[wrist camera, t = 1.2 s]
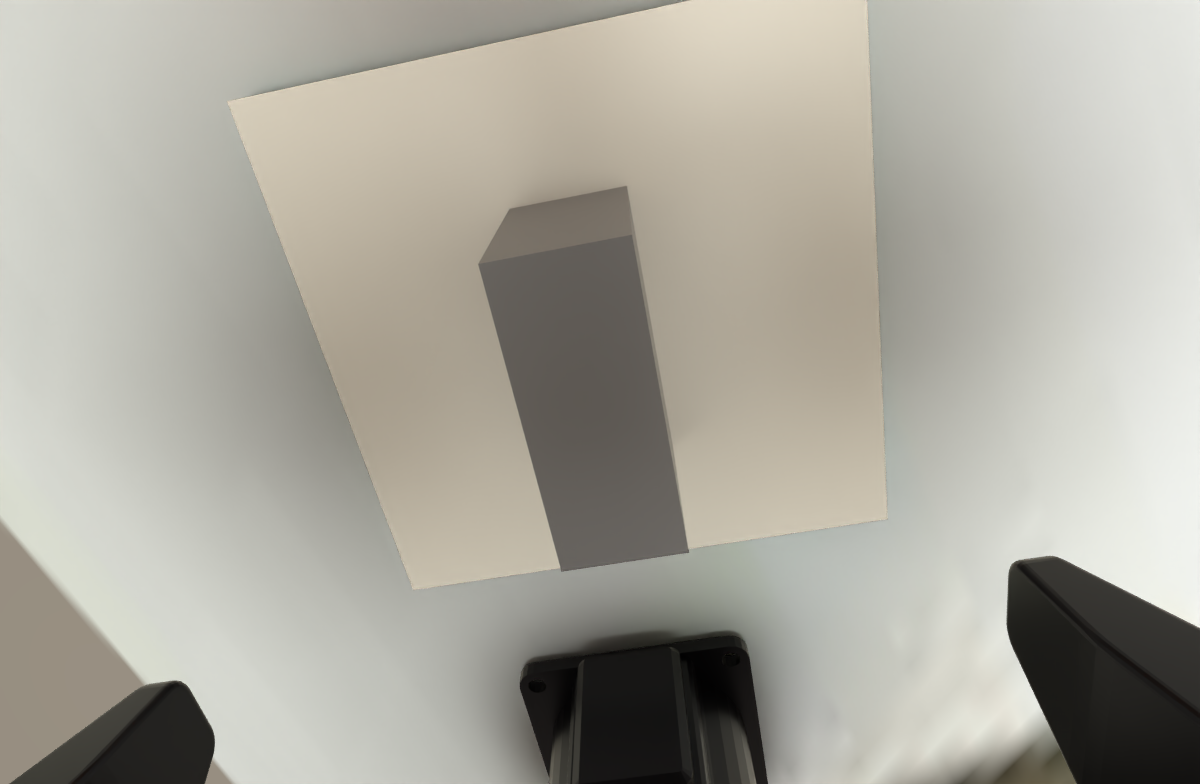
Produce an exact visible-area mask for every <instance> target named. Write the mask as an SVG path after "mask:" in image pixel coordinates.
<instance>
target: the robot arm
mask: <svg viewBox="0 0 1200 784" xmlns="http://www.w3.org/2000/svg"><path fill="white" fill-rule="evenodd" d="M1007 631H1008V635H1009V639H1010V642H1011V645H1012V647H1013V650H1014V652H1015V654H1016V656H1017V658H1018V660H1019V662H1020V665H1021V667H1022V669H1023V671H1024V673H1025V675H1026V677H1027V679H1028V682H1029V684H1030V686H1031V688H1032V690H1033V692H1034V694H1035V697H1036V699H1037V701H1038V703H1039V705H1040V707H1041V709H1042V711H1043V714H1044V716H1045V718H1046V720H1047V722H1048V724H1049V726H1050V729H1051V731H1052V733H1053V735H1054V737H1055V739H1056V741H1057V743H1058V746H1059V748H1060V750H1061V752H1062V754H1063V756H1064V758H1065V761H1066V763H1067V765H1068V767H1069V769H1070V771H1071V773H1072V775H1073V777H1074V779H1075V781H1076V783H1077V784H1200V628H1199V627H1197V626H1195V625H1193V624H1191V623H1189V622H1187V621H1185V620H1183V619H1181V618H1179V617H1177V616H1175V615H1173V614H1171V613H1169V612H1167V611H1165V610H1163V609H1161V608H1159V607H1157V606H1155V605H1153V604H1151V603H1149V602H1147V601H1145V600H1143V599H1141V598H1139V597H1137V596H1135V595H1133V594H1131V593H1129V592H1127V591H1125V590H1123V589H1121V588H1119V587H1117V586H1115V585H1113V584H1111V583H1109V582H1107V581H1105V580H1103V579H1101V578H1099V577H1097V576H1095V575H1093V574H1091V573H1089V572H1087V571H1085V570H1083V569H1081V568H1079V567H1077V566H1075V565H1073V564H1071V563H1069V562H1067V561H1065V560H1063V559H1061V558H1058V557H1055V556H1045V557H1038V558H1031V559H1024V560H1018V561H1016V562H1014V563H1013V564H1012V565H1011V567H1010V569H1009V575H1008V598H1007ZM728 653H735V655H732V656H725V654H728ZM535 679H536V680H541V682H536V681H534V680H535ZM520 690H521V693H522V696H523V699H524V702H525V705H526V708H527V711H528V714H529V717H530V720H531V723H532V726H533V730H534V733H535V736H536V739H537V742H538V745H539V748H540V751H541V754H542V757H543V760H544V763H545V766H546V769H547V772H548V775H549V784H768V781H767V774H766V768H765V761H764V754H763V747H762V740H761V734H760V727H759V720H758V713H757V707H756V700H755V693H754V686H753V679H752V673H751V666H750V659H749V654H748V650H747V646H746V644H745V642H744V641H743V640H742V639H741V638H739V637H736V636H722V637H715V638H708V639H701V640H693V641H686V642H679V643H672V644H664V645H657V646H650V647H643V648H635V649H628V650H621V651H614V652H606V653H599V654H592V655H585V656H578V657H570V658H563V659H556V660H549V661H541V662H534V663H531V664H528V665H527V666H525V667H524V668H523V670H522V672H521V678H520ZM214 747H215V737H214V733H213V729H212V727H211V725H210V724H209V722H208V720H207V718H206V717H205V715H204V713H203V711H202V710H201V708H200V706H199V704H198V703H197V701H196V699H195V697H194V696H193V694H192V692H191V690H190V689H189V687H188V686H187V685H186V684H184V683H182V682H181V681H167V682H160V683H153V684H148V685H145V686H142V687H140V688H139V689H137V690H135V691H134V692H133V693H131V694H130V695H129V696H127V697H126V698H125V699H123V700H122V701H121V702H119V703H118V704H117V705H115V706H114V707H112V708H111V709H110V710H108V711H107V712H106V713H104V714H103V715H102V716H100V717H99V718H98V719H96V720H95V721H94V722H92V723H91V724H90V725H88V726H87V727H85V728H84V729H83V730H82V731H80V732H79V733H77V734H76V735H75V736H73V737H72V738H71V739H69V740H68V741H67V742H65V743H64V744H63V745H61V746H60V747H59V748H57V749H56V750H54V751H53V752H52V753H50V754H49V755H48V756H46V757H45V758H44V759H42V760H41V761H40V762H39V763H37V764H35V765H34V766H33V767H32V768H30V769H29V770H27V771H26V772H25V773H23V774H22V775H21V776H19V777H18V778H17V779H15V780H14V781H13V782H11V783H10V784H205V781H206V778H207V774H208V771H209V768H210V764H211V761H212V758H213V754H214Z"/></svg>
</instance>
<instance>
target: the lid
mask: <svg viewBox="0 0 1200 784" xmlns="http://www.w3.org/2000/svg"><path fill="white" fill-rule="evenodd" d="M227 103H228V105H229V108H230V110H231V113H232V116H233V118H234V121H235V124H236V126H237V129H238V131H239V134H240V137H241V139H242V142H243V145H244V147H245V150H246V152H247V155H248V158H249V160H250V163H251V166H252V168H253V171H254V173H255V176H256V179H257V181H258V184H259V187H260V189H261V192H262V194H263V197H264V200H265V202H266V205H267V208H268V210H269V213H270V215H271V218H272V221H273V223H274V226H275V229H276V231H277V234H278V236H279V239H280V242H281V244H282V247H283V250H284V252H285V255H286V257H287V260H288V263H289V265H290V268H291V271H292V273H293V276H294V278H295V281H296V284H297V286H298V289H299V292H300V294H301V297H302V299H303V302H304V305H305V307H306V310H307V313H308V315H309V318H310V320H311V323H312V326H313V328H314V331H315V334H316V336H317V339H318V341H319V344H320V347H321V349H322V352H323V355H324V357H325V360H326V362H327V365H328V368H329V370H330V373H331V376H332V378H333V381H334V383H335V386H336V389H337V391H338V394H339V397H340V399H341V402H342V405H343V407H344V410H345V412H346V415H347V418H348V420H349V423H350V426H351V428H352V431H353V433H354V436H355V439H356V441H357V444H358V447H359V449H360V452H361V454H362V457H363V460H364V462H365V465H366V468H367V470H368V473H369V475H370V478H371V481H372V483H373V486H374V489H375V491H376V494H377V496H378V499H379V502H380V504H381V507H382V510H383V512H384V515H385V517H386V520H387V523H388V525H389V528H390V531H391V533H392V536H393V538H394V541H395V544H396V546H397V549H398V552H399V554H400V557H401V559H402V562H403V565H404V567H405V570H406V573H407V575H408V578H409V580H410V583H411V586H412V588H413V590H419V589H425V588H432V587H439V586H445V585H452V584H459V583H465V582H472V581H479V580H485V579H492V578H499V577H505V576H512V575H519V574H525V573H532V572H539V571H545V570H552V569H559V568H561V572H562V571H568V570H575V569H582V568H589V567H595V566H602V565H609V564H615V563H622V562H629V561H635V560H642V559H649V558H655V557H662V556H669V555H676V554H682V553H689V550H688V549H692V548H699V547H706V546H712V545H719V544H726V543H732V542H739V541H746V540H752V539H759V538H766V537H772V536H779V535H786V534H792V533H799V532H806V531H812V530H819V529H826V528H832V527H839V526H846V525H853V524H859V523H866V522H873V521H879V520H886V519H888V518H887V493H886V468H885V442H884V417H883V391H882V366H881V341H880V315H879V290H878V265H877V239H876V214H875V188H874V163H873V138H872V112H871V87H870V61H869V36H868V11H867V0H689V1H684V2H680V3H675V4H671V5H666V6H661V7H657V8H652V9H648V10H643V11H638V12H634V13H629V14H625V15H620V16H616V17H611V18H606V19H602V20H597V21H593V22H588V23H583V24H579V25H574V26H570V27H565V28H561V29H556V30H551V31H547V32H542V33H538V34H533V35H528V36H524V37H519V38H515V39H510V40H506V41H501V42H496V43H492V44H487V45H483V46H478V47H473V48H469V49H464V50H460V51H455V52H451V53H446V54H441V55H437V56H432V57H428V58H423V59H418V60H414V61H409V62H405V63H400V64H396V65H391V66H386V67H382V68H377V69H373V70H368V71H364V72H359V73H354V74H350V75H345V76H341V77H336V78H331V79H327V80H322V81H318V82H313V83H309V84H304V85H299V86H295V87H290V88H286V89H281V90H276V91H272V92H267V93H263V94H258V95H254V96H249V97H244V98H240V99H235V100H231V101H227Z"/></svg>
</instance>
